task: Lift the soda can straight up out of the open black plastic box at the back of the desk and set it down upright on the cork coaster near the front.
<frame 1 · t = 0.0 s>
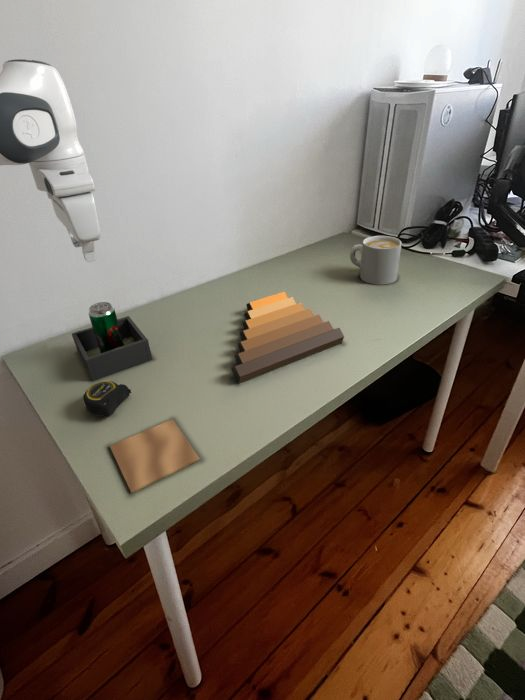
hand: (84, 252, 81), 23 cm above the table, tool pointing down, fingers open, 8 cm apart
pan flute: (263, 337, 97), on the table
coffee mug: (372, 276, 121), on the table
soda can: (114, 356, 93), resting in black box
black box: (114, 356, 93), on the table
tape measure: (111, 407, 79), on the table
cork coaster: (153, 453, 69), on the table
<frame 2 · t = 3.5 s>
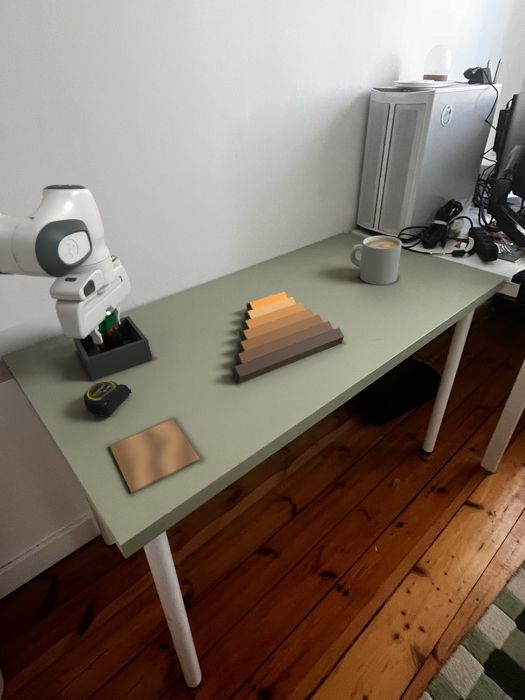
hand: (108, 333, 90), 6 cm above the table, tool pointing down, fingers closed on soda can, 5 cm apart
soda can: (114, 356, 93), resting in black box, touching gripper
everything else where it was.
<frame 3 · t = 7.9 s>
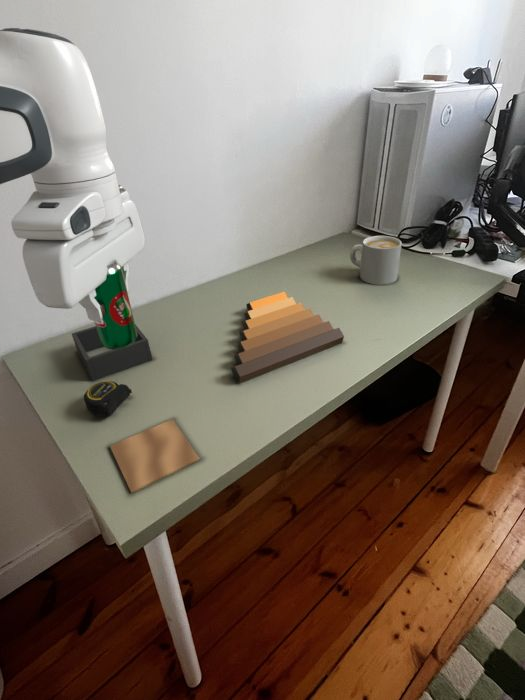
hand: (110, 306, 58), 25 cm above the table, tool pointing down, fingers closed on soda can, 5 cm apart
soda can: (120, 342, 61), point 19 cm above the table, touching gripper
everything else where it was.
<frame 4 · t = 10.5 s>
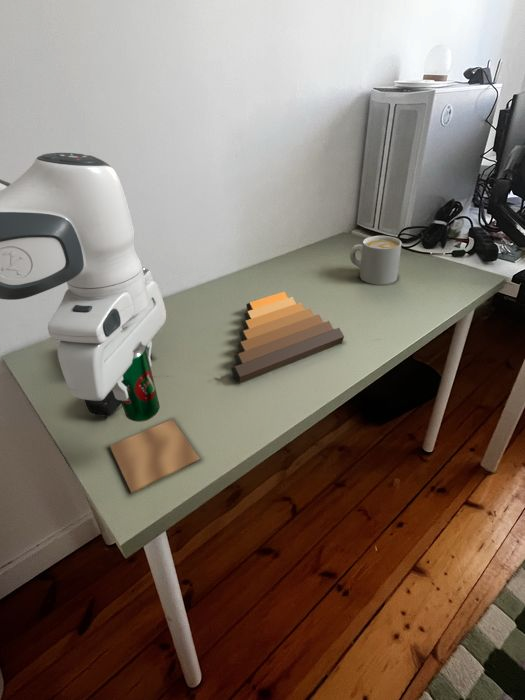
hand: (134, 382, 61), 14 cm above the table, tool pointing down, fingers closed on soda can, 5 cm apart
soda can: (143, 413, 64), point 9 cm above the table, touching gripper
everything else where it was.
when the fingers open (6 cm above the table, at t = 12.8 s): soda can stays where it is, resting on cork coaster.
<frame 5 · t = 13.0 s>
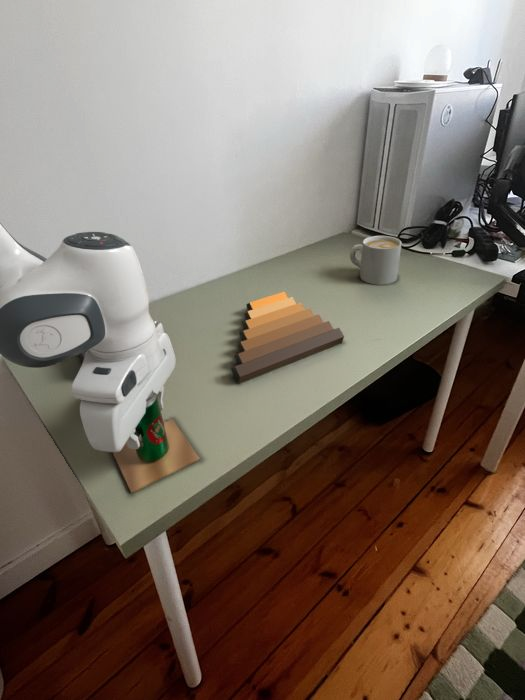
hand: (146, 427, 66), 6 cm above the table, tool pointing down, fingers open, 6 cm apart
soda can: (153, 452, 69), resting on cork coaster
everything else where it was.
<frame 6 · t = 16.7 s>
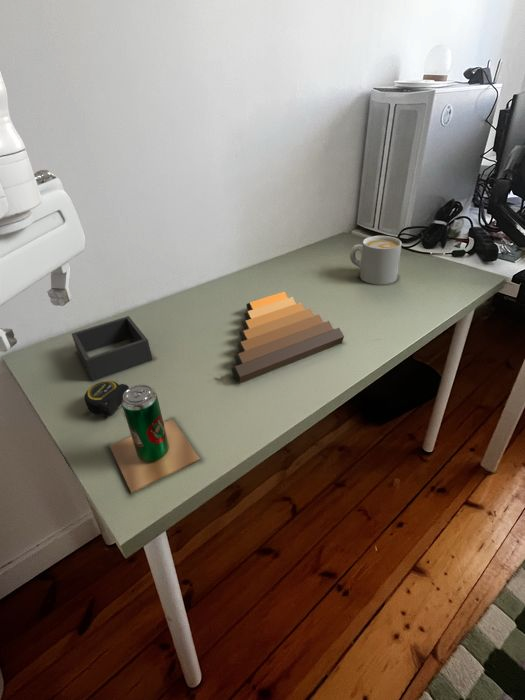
hand: (36, 323, 46), 29 cm above the table, tool pointing down, fingers open, 8 cm apart
nothing on the table moved.
at the end: soda can inside the target area on the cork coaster (0.0 cm from its centre), point 0.2 cm above the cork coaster's base; soda can tilted 0°; soda can touching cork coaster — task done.
